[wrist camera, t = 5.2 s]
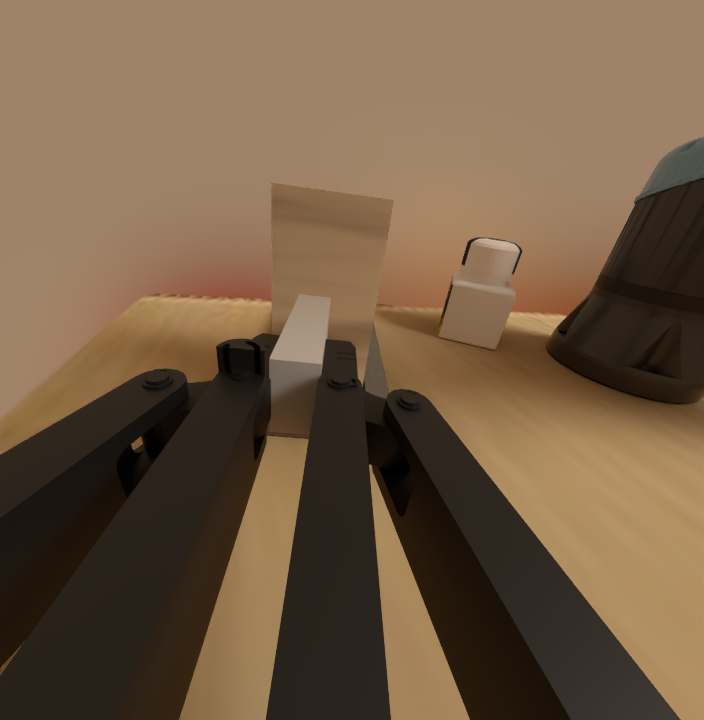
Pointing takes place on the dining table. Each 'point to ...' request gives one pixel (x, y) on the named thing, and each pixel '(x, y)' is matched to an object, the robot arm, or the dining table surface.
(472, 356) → the dining table surface
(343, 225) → the birch block
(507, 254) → the medicine bottle
